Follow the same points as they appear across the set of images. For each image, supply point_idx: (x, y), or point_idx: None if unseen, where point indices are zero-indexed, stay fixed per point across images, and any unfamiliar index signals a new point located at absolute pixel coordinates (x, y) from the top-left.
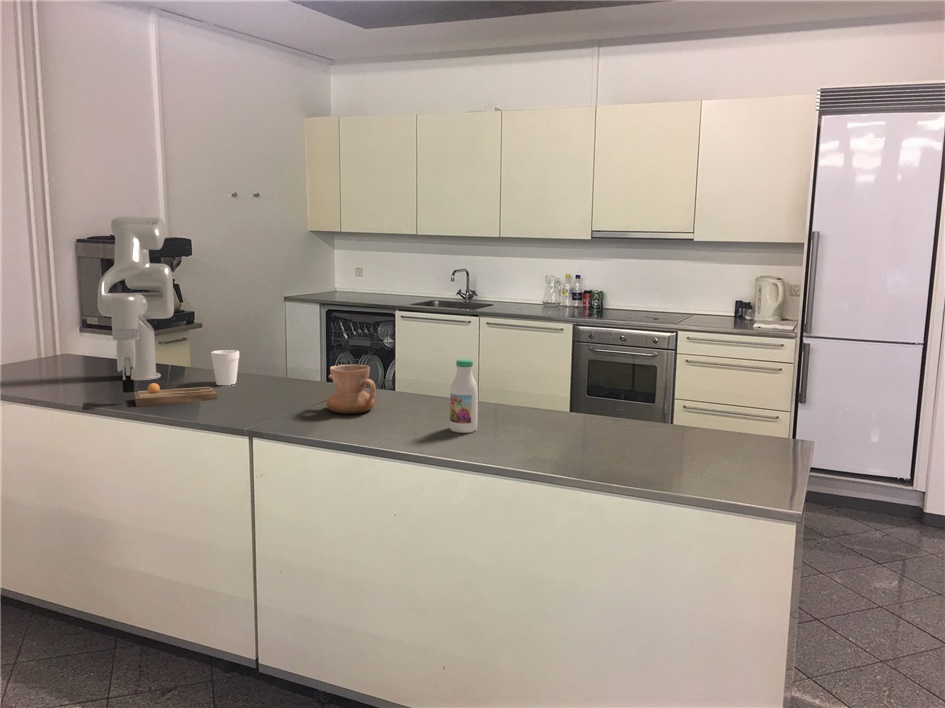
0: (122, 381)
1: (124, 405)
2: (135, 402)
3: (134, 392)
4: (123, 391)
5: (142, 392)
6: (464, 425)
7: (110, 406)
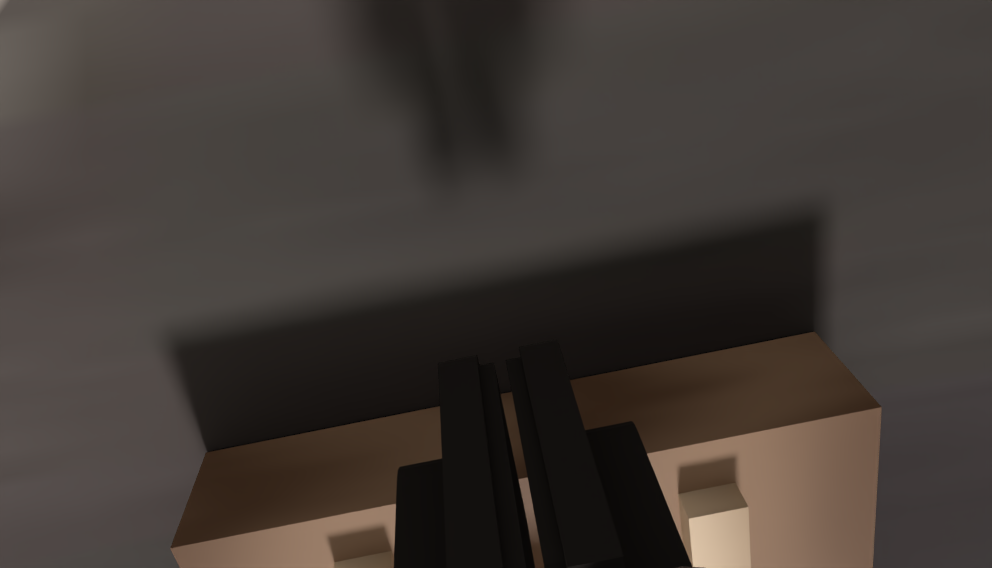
0: (556, 523)
1: (349, 264)
2: None
3: (861, 408)
4: (444, 375)
5: None
6: None
7: (282, 35)
